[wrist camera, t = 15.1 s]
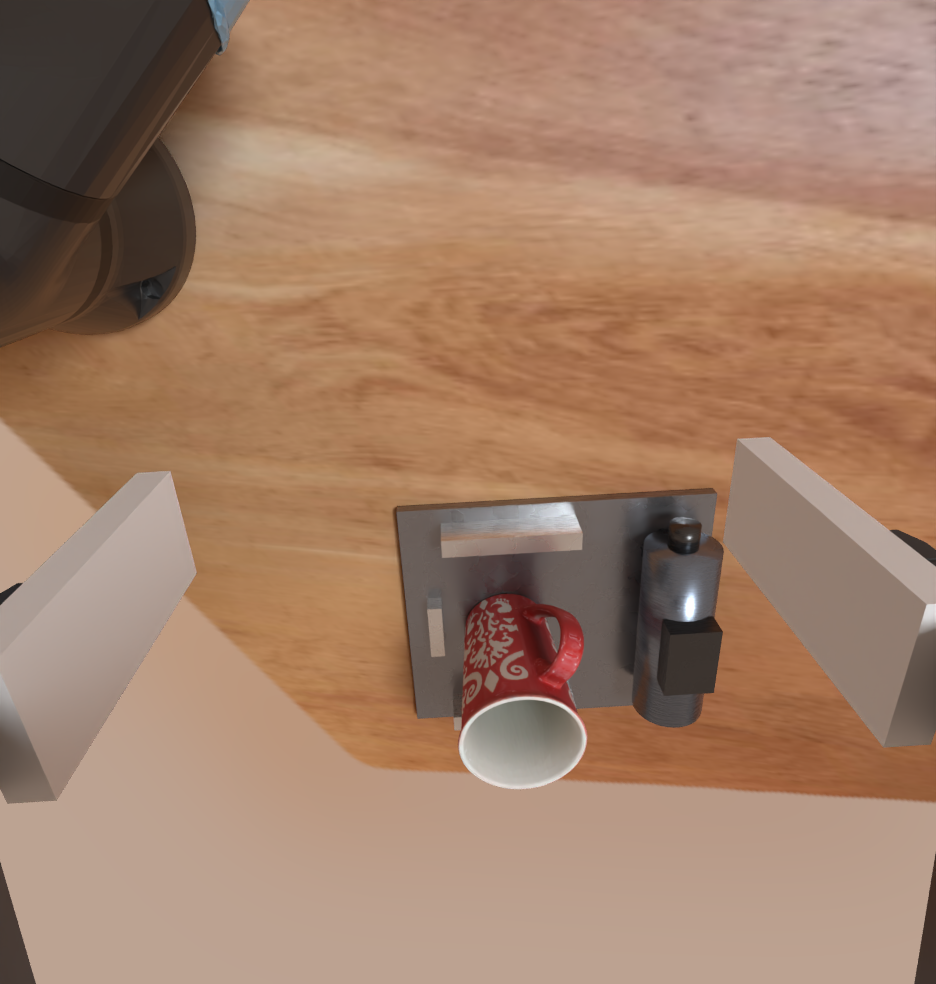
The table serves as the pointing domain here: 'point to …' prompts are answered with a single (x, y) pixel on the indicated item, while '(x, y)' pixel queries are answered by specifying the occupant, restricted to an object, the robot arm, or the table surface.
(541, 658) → the mug
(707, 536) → the plate
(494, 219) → the table surface
